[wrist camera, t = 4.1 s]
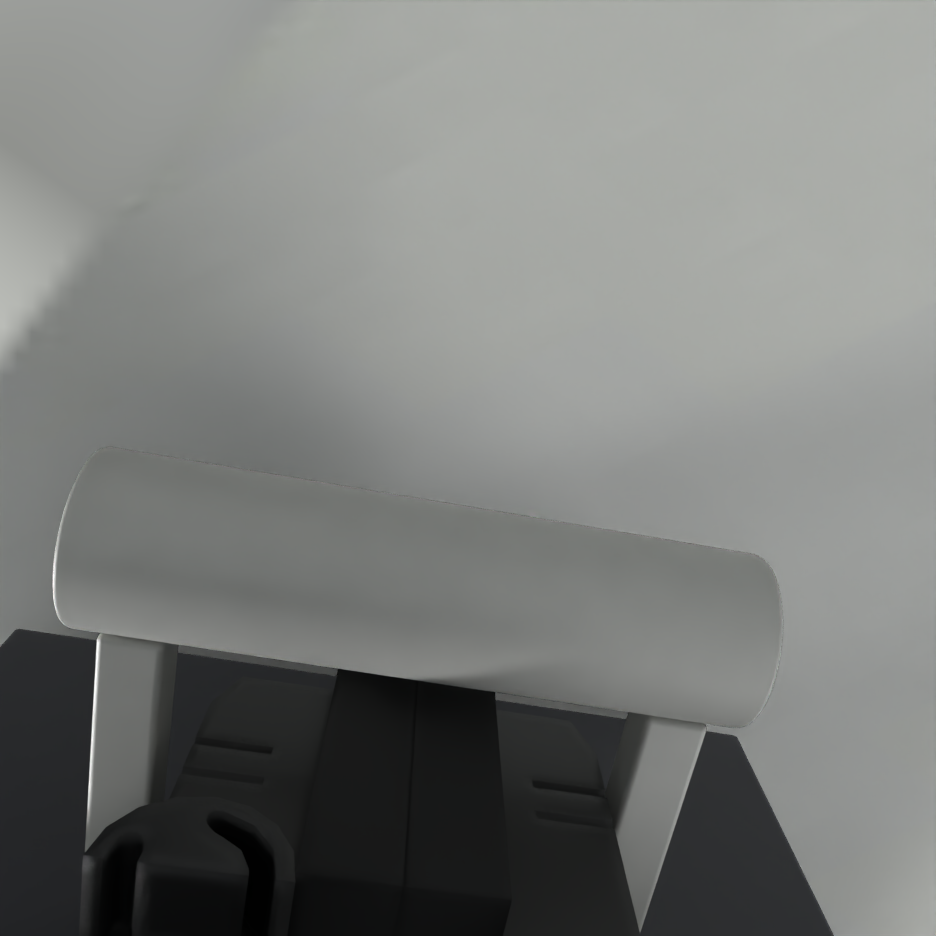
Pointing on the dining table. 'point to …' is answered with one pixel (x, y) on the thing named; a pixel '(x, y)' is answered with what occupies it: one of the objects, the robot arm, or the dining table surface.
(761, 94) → the dining table surface
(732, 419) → the dining table surface
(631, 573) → the pulled-out drawer
